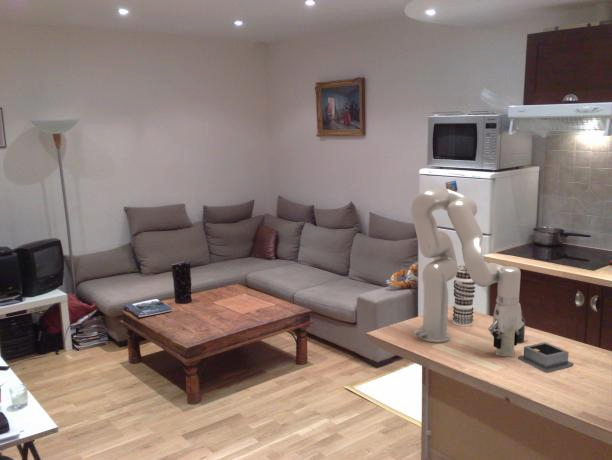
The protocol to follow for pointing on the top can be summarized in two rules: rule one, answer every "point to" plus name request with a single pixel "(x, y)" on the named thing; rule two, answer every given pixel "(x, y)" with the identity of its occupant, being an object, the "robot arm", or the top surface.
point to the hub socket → (545, 357)
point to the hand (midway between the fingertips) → (505, 345)
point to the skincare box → (507, 343)
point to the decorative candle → (463, 298)
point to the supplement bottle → (521, 331)
